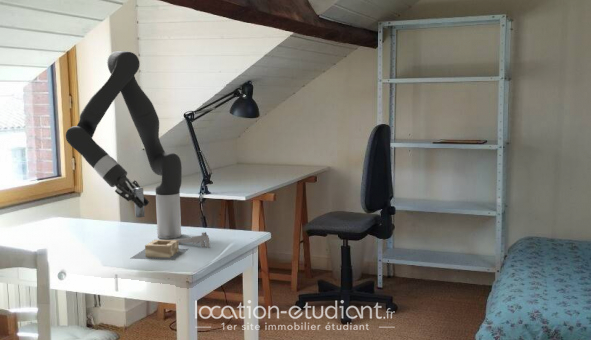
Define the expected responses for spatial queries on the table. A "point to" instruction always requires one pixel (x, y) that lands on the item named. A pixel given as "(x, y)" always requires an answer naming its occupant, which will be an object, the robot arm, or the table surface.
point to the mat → (143, 256)
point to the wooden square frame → (161, 248)
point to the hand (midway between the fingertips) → (144, 205)
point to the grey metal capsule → (139, 192)
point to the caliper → (197, 240)
